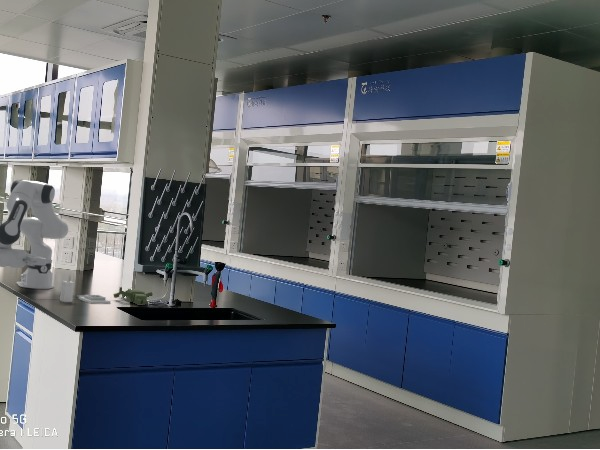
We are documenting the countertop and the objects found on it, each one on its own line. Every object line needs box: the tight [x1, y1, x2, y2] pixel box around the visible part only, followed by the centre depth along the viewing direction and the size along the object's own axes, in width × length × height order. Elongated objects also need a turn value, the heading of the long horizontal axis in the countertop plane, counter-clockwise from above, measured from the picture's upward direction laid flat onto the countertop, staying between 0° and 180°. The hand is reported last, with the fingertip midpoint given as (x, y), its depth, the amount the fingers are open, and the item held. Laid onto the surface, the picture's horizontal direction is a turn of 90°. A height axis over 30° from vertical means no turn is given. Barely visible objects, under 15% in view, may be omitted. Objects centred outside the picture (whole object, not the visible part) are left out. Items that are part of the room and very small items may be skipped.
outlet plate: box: [78, 294, 111, 304], centre depth 358 cm, size 14×11×3 cm
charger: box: [59, 280, 75, 303], centre depth 347 cm, size 4×4×10 cm
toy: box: [113, 286, 153, 305], centre depth 372 cm, size 21×8×30 cm
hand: (47, 260), depth 338 cm, fingers open, 8 cm apart
